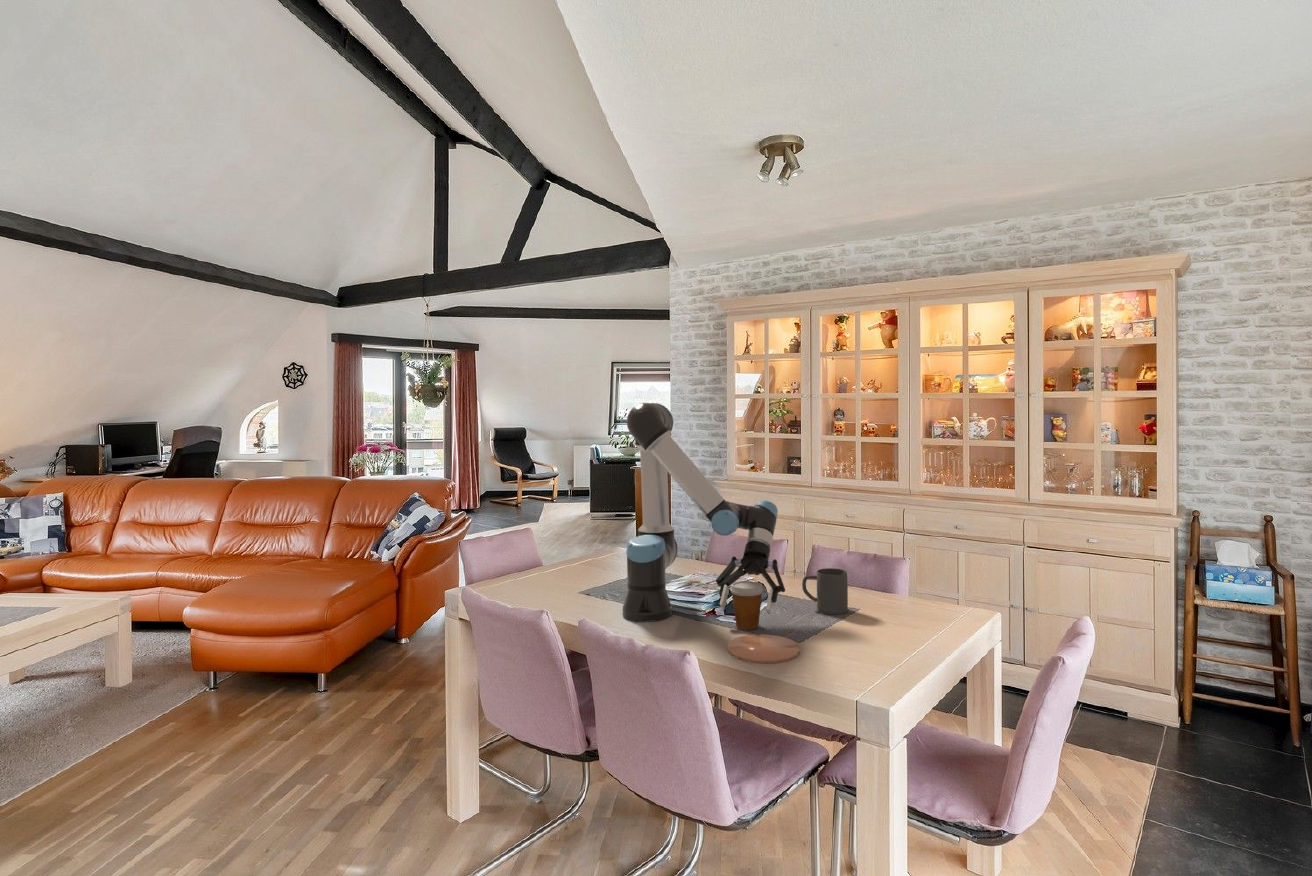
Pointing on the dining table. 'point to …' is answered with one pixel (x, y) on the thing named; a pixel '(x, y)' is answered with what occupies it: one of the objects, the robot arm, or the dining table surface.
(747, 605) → the disposable coffee cup
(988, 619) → the dining table surface
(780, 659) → the terracotta dish
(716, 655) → the dining table surface
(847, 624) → the dining table surface
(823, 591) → the mug
